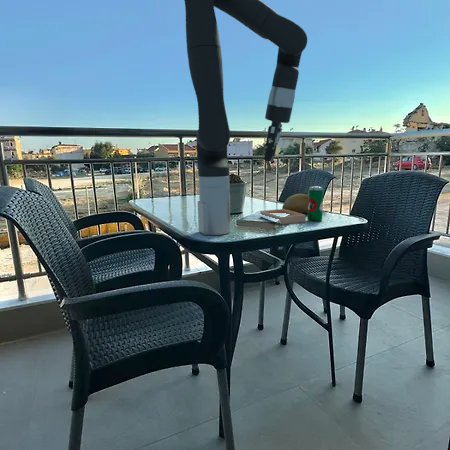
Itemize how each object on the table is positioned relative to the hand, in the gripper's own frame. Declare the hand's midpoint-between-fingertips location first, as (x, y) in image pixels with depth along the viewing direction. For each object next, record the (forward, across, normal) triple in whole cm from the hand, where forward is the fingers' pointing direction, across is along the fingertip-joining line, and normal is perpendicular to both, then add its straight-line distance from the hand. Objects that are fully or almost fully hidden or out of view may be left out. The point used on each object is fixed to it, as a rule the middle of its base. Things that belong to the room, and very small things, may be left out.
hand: (269, 158), depth 102 cm
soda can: (+20, -8, +20) cm, 29 cm away
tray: (+22, -8, +8) cm, 25 cm away
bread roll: (+23, -22, +15) cm, 36 cm away
